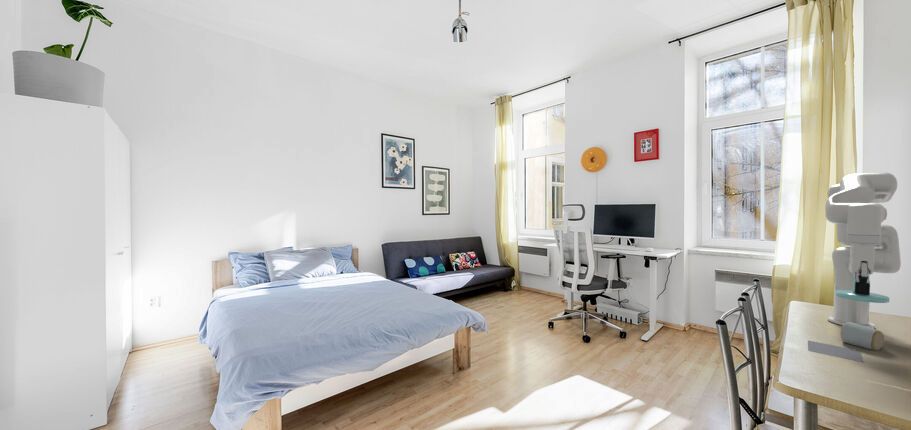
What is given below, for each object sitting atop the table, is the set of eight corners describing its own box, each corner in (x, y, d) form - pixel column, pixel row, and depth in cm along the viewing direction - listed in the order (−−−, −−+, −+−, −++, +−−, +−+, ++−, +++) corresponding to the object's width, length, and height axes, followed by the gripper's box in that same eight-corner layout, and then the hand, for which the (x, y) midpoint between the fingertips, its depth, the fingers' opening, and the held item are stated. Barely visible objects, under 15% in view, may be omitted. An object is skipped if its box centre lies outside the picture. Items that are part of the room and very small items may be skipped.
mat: (807, 341, 122) (807, 340, 122) (859, 351, 114) (859, 350, 114) (808, 351, 114) (808, 350, 114) (863, 363, 105) (863, 362, 105)
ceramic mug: (874, 353, 112) (875, 330, 112) (839, 343, 120) (840, 322, 120) (889, 349, 116) (890, 326, 116) (854, 340, 124) (855, 319, 124)
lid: (834, 291, 126) (834, 274, 125) (886, 297, 117) (886, 279, 117) (836, 297, 117) (836, 280, 117) (892, 305, 109) (893, 285, 108)
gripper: (844, 237, 125) (842, 287, 126) (848, 241, 113) (846, 295, 114) (876, 238, 120) (874, 290, 120) (884, 243, 108) (882, 300, 109)
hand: (861, 292), depth 117 cm, fingers closed on lid, 3 cm apart
